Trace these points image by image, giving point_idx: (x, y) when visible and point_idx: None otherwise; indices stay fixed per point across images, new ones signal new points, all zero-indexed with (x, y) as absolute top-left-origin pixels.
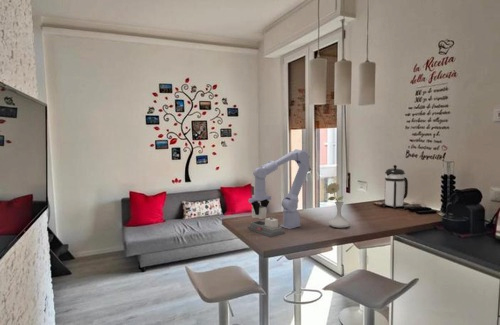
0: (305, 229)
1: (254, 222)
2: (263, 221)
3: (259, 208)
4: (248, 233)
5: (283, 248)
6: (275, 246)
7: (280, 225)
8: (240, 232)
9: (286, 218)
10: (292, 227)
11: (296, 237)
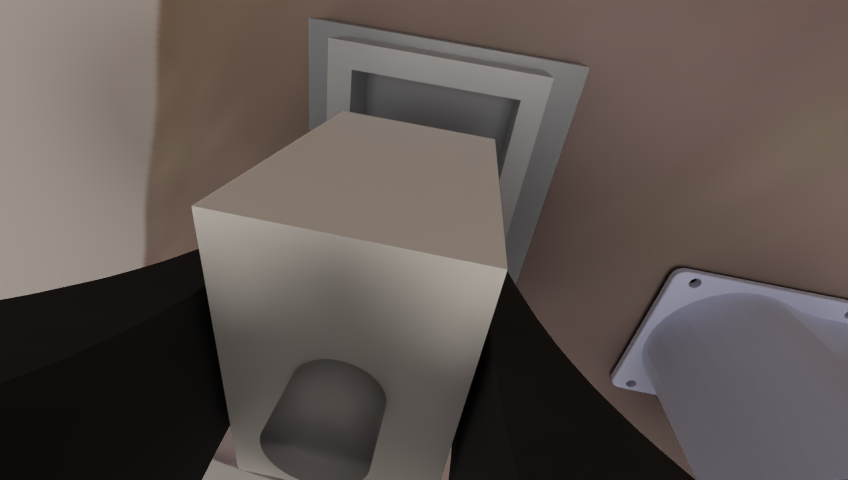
0: (680, 456)
1: (403, 76)
2: (518, 177)
3: (239, 427)
4: (226, 162)
5: (249, 472)
6: (232, 440)
7: (674, 282)
8: (166, 62)
9: (684, 438)
10: (655, 393)
11: (449, 466)
